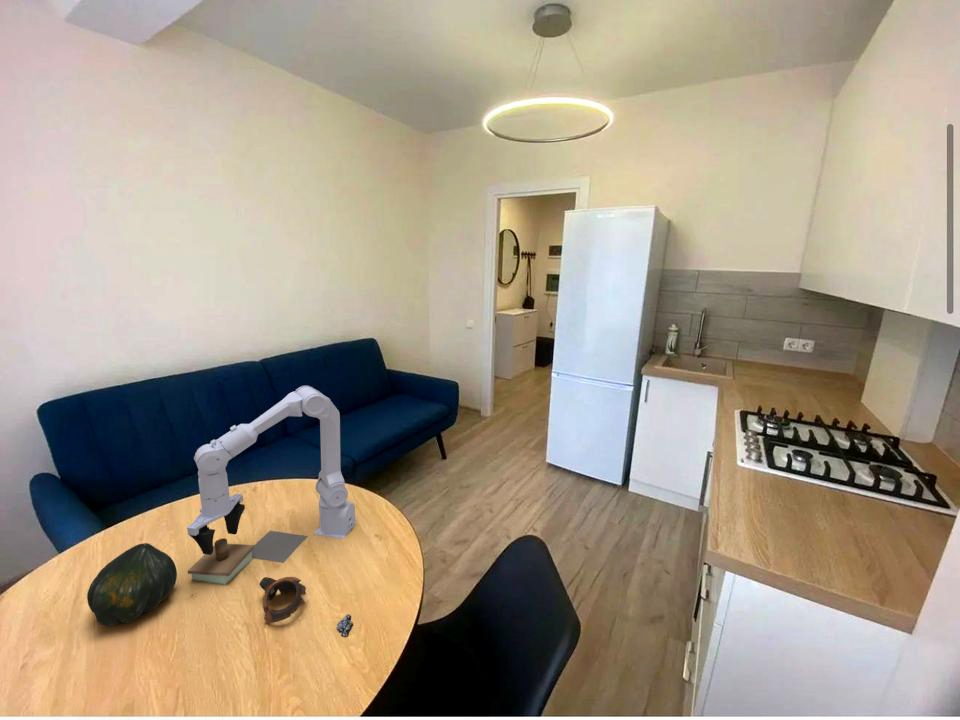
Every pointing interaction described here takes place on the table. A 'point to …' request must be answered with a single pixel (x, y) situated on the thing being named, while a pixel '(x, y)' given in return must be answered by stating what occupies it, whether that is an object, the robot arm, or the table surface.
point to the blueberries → (345, 626)
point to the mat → (277, 546)
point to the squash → (131, 585)
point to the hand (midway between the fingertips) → (220, 543)
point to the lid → (221, 559)
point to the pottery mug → (283, 586)
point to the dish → (222, 579)
